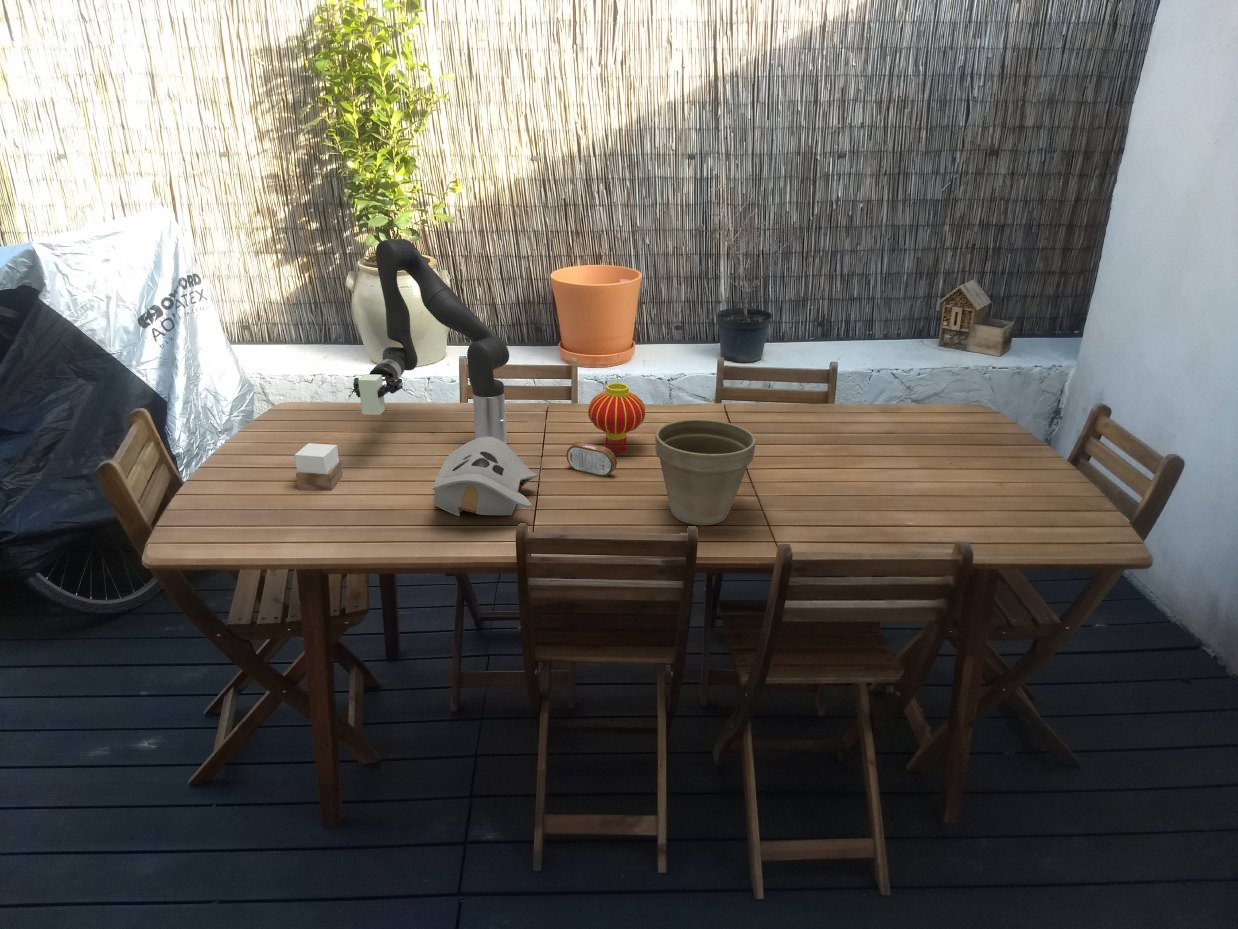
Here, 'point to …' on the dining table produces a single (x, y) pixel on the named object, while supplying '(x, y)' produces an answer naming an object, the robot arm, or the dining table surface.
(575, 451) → the tin
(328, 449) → the tower top
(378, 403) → the block
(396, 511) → the dining table surface
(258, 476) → the dining table surface
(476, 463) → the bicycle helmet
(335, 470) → the tower bottom
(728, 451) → the plant pot
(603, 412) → the lantern
